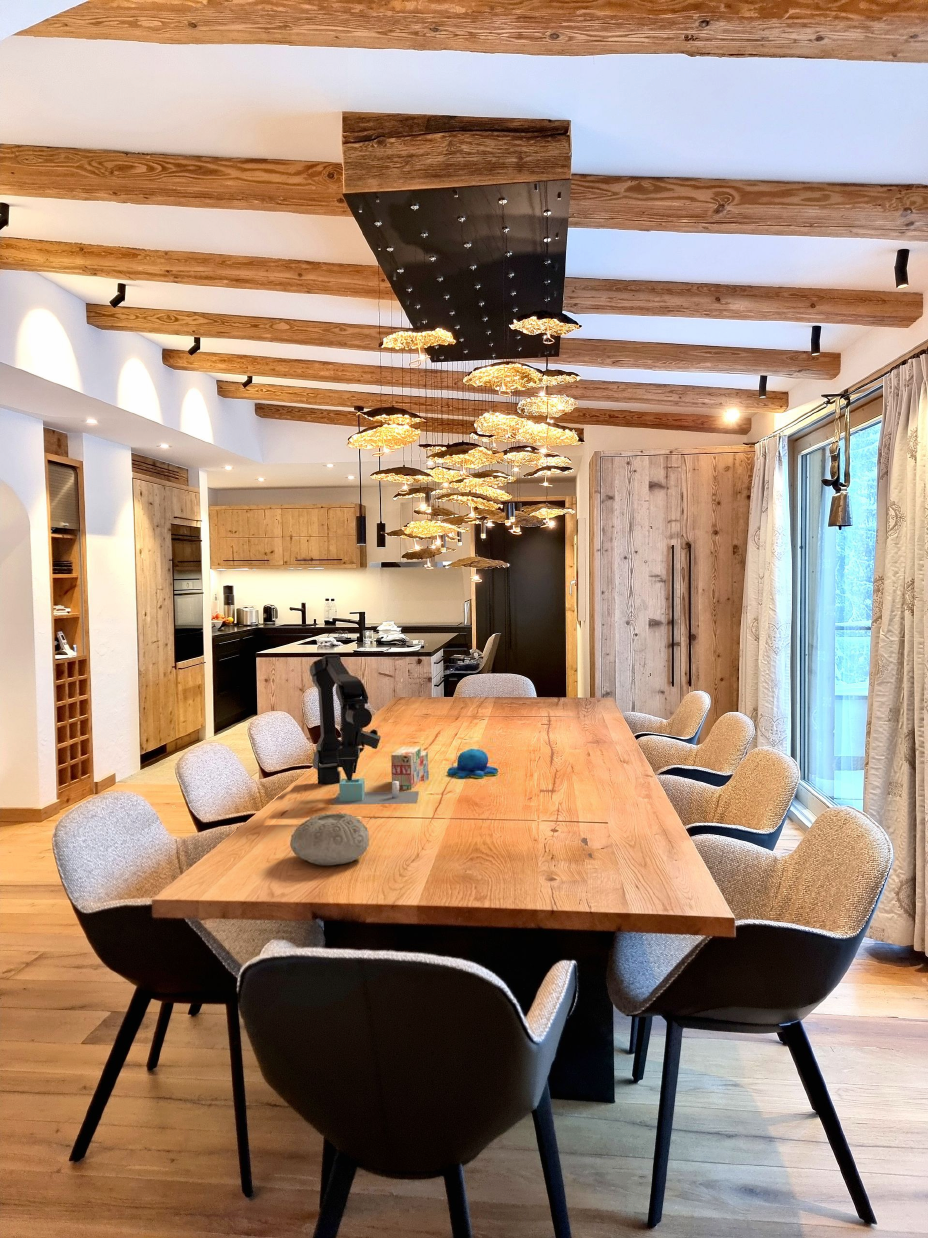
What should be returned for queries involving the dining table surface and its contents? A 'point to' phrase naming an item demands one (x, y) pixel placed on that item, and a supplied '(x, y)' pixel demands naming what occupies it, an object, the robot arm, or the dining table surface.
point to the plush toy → (472, 765)
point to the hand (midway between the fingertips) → (351, 776)
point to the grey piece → (383, 797)
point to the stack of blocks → (409, 767)
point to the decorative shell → (330, 839)
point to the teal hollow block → (352, 789)
